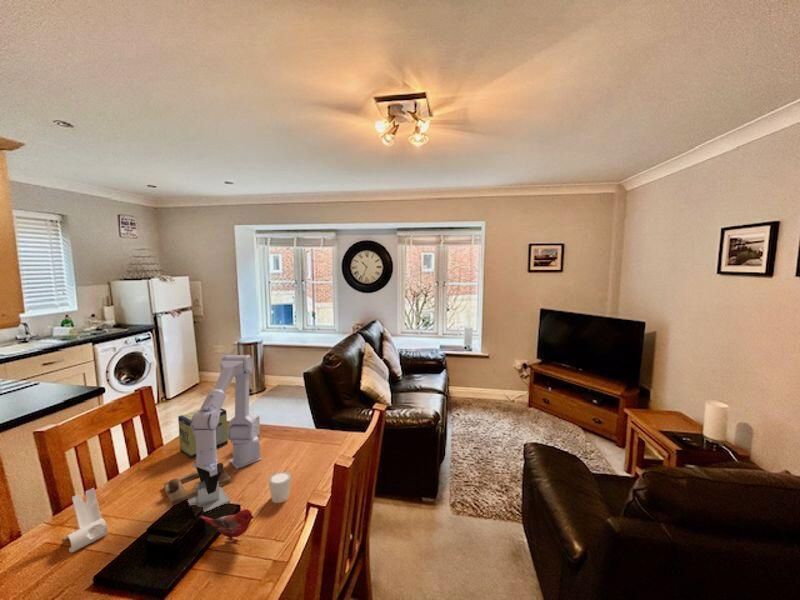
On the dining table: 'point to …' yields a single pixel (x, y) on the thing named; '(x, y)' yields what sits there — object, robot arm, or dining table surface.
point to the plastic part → (87, 521)
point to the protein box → (189, 438)
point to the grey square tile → (222, 500)
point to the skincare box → (257, 425)
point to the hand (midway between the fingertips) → (208, 487)
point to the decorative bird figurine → (232, 524)
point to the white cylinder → (279, 487)
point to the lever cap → (205, 494)
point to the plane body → (175, 486)
